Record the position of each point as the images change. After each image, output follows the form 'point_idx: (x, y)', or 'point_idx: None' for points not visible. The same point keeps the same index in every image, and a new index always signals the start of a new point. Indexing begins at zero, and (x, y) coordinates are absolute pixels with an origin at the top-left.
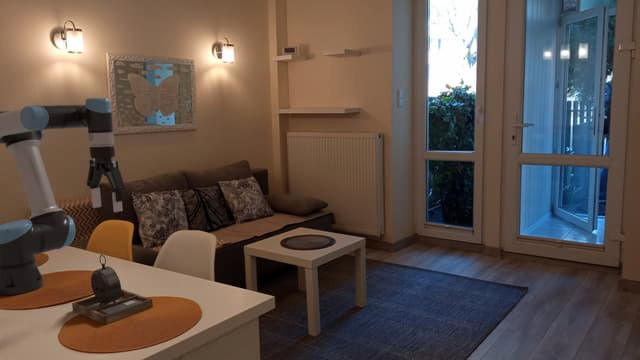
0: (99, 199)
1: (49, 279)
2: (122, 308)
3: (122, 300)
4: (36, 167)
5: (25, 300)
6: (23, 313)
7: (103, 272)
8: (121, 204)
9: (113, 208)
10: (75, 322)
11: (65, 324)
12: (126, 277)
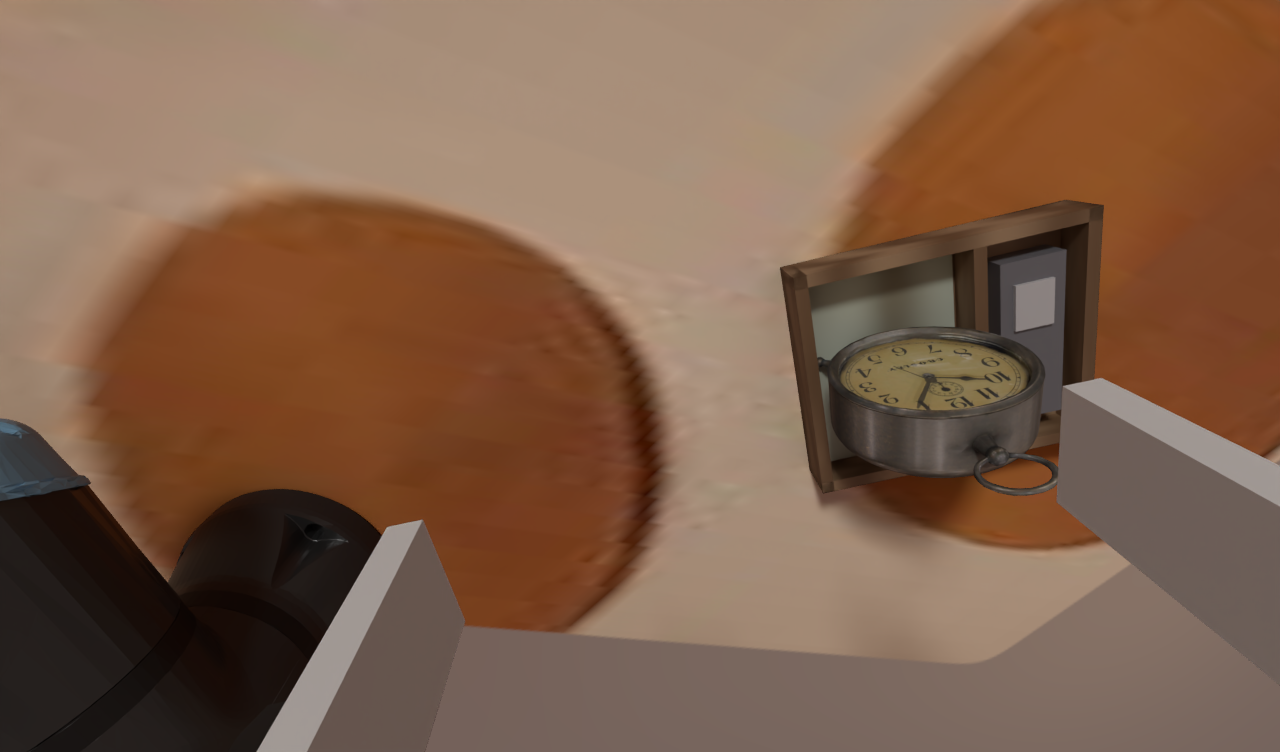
0: (385, 633)
1: (225, 455)
2: (1060, 348)
3: (983, 322)
4: None
5: (503, 573)
6: (661, 595)
7: (1018, 451)
8: (1199, 440)
9: (1098, 535)
10: (913, 482)
11: (901, 511)
12: (452, 120)
